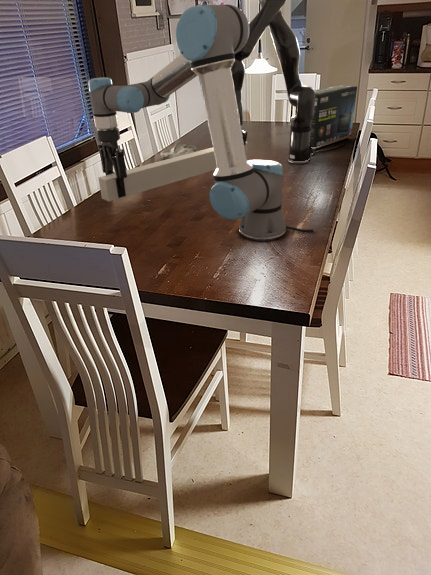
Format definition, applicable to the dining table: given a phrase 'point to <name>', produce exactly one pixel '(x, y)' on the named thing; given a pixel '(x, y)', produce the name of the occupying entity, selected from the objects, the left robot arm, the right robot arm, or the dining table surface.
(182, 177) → the beam
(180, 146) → the fossil
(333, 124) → the router box
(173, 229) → the dining table surface
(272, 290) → the dining table surface
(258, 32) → the right robot arm
